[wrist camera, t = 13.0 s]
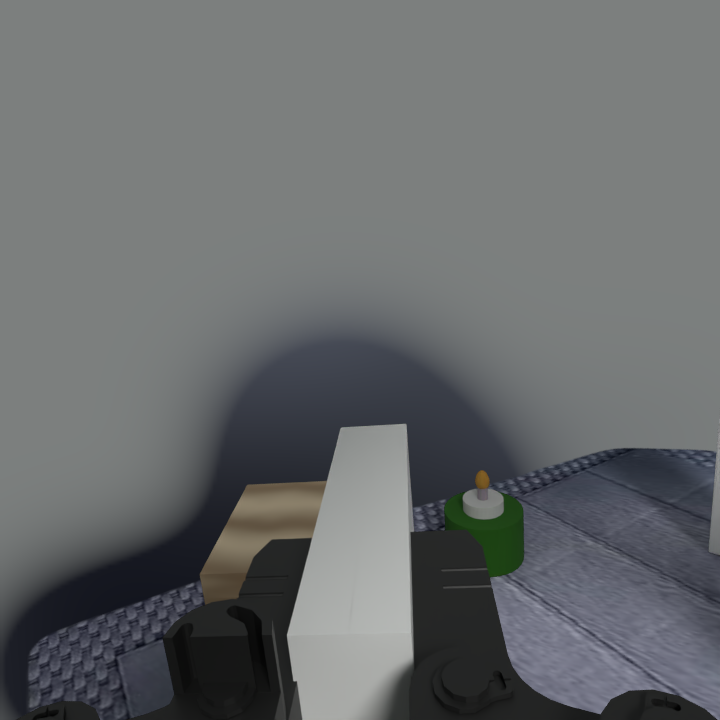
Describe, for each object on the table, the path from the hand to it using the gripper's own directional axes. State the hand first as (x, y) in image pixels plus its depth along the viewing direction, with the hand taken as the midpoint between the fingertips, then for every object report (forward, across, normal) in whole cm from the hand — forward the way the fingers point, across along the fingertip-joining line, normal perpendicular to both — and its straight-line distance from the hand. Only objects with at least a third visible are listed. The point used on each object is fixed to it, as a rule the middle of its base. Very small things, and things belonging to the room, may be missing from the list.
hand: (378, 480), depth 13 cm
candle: (+44, +8, -32) cm, 55 cm away
